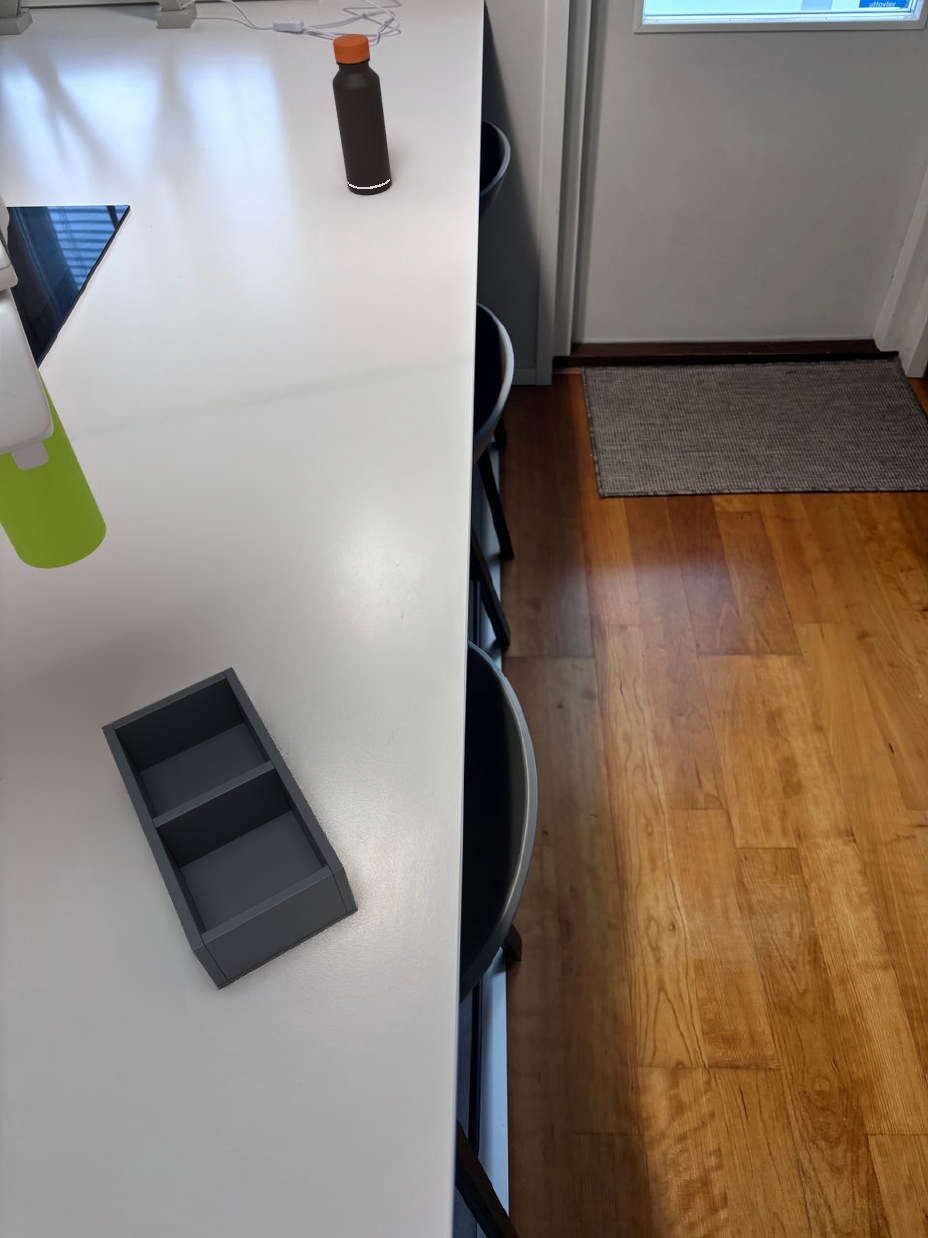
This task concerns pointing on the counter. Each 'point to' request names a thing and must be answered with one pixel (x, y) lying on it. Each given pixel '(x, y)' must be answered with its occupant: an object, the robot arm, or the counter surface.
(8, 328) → the robot arm
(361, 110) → the bottle
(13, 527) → the soap dispenser
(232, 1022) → the counter surface
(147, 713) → the storage box
